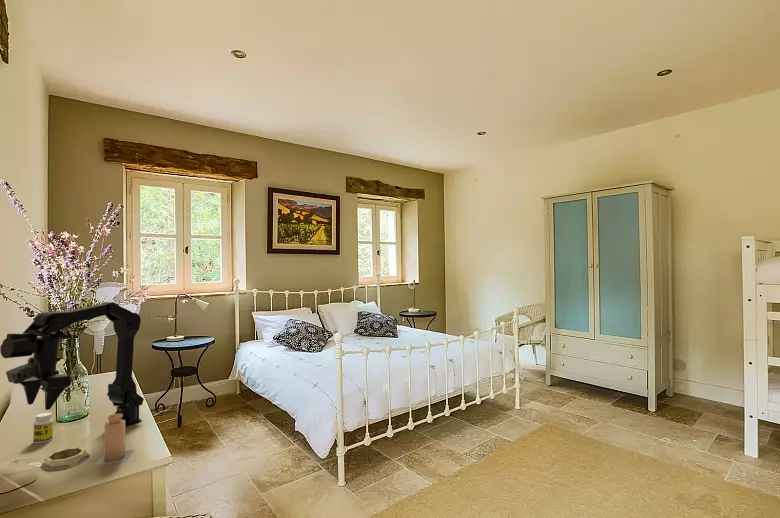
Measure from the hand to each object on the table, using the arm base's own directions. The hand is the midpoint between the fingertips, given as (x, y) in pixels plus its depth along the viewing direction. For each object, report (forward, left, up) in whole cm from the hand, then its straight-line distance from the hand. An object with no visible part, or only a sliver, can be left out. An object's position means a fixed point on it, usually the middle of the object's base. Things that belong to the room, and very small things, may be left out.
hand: (38, 406), depth 123 cm
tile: (-9, +23, -14) cm, 29 cm away
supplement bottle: (-5, -12, -15) cm, 19 cm away
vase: (-9, +23, -14) cm, 29 cm away
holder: (-1, +13, -14) cm, 20 cm away
